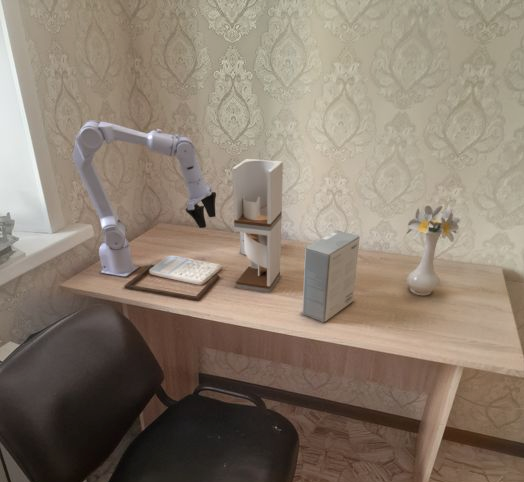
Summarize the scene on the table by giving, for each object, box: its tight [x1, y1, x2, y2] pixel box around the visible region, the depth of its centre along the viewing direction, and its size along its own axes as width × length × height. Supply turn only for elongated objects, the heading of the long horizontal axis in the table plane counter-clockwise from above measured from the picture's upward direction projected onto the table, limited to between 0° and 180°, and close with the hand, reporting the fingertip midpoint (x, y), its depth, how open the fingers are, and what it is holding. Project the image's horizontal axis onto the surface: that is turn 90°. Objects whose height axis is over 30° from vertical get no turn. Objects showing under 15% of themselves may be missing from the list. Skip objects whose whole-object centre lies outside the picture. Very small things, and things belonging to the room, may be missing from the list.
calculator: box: [148, 255, 222, 286], centre depth 150 cm, size 13×20×2 cm, turn 66°
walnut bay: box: [123, 264, 221, 302], centre depth 144 cm, size 25×16×1 cm, turn 71°
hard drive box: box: [302, 229, 360, 323], centre depth 126 cm, size 16×8×20 cm, turn 141°
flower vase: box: [406, 205, 461, 297], centre depth 133 cm, size 13×18×25 cm
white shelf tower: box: [231, 158, 284, 293], centre depth 135 cm, size 11×11×35 cm
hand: (207, 221), depth 148 cm, fingers open, 7 cm apart
